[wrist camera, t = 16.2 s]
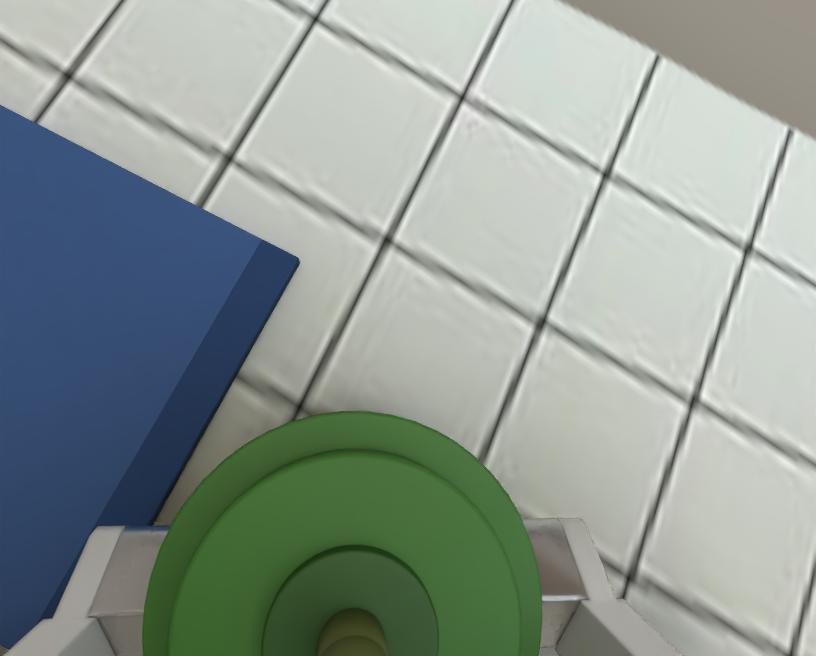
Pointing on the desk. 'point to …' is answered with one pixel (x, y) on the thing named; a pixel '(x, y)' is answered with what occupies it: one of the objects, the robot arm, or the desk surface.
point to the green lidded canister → (346, 550)
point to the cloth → (106, 351)
